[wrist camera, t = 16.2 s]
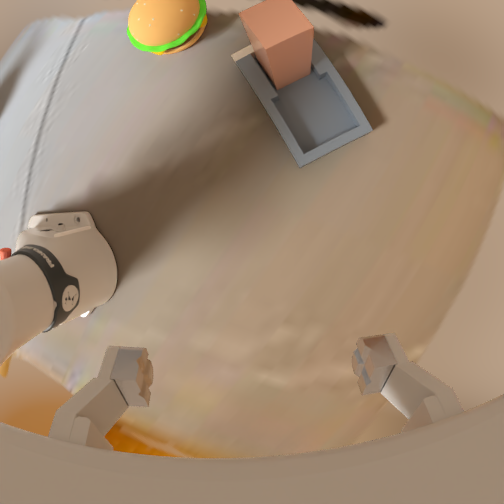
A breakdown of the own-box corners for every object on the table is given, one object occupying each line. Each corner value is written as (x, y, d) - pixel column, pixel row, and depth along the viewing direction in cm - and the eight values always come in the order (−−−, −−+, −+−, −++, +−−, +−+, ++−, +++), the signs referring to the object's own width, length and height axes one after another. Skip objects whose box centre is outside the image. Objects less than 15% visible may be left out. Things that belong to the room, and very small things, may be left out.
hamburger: (130, 29, 37) (102, 9, 29) (191, -13, 35) (172, -41, 26) (160, 76, 39) (132, 58, 31) (229, 31, 36) (214, 3, 28)
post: (310, 74, 35) (314, 27, 22) (277, 90, 37) (265, 49, 23) (290, 45, 35) (284, -8, 21) (258, 62, 36) (238, 13, 22)
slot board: (367, 133, 37) (373, 130, 34) (299, 168, 39) (299, 167, 36) (300, 30, 35) (300, 21, 32) (235, 62, 37) (230, 55, 34)
